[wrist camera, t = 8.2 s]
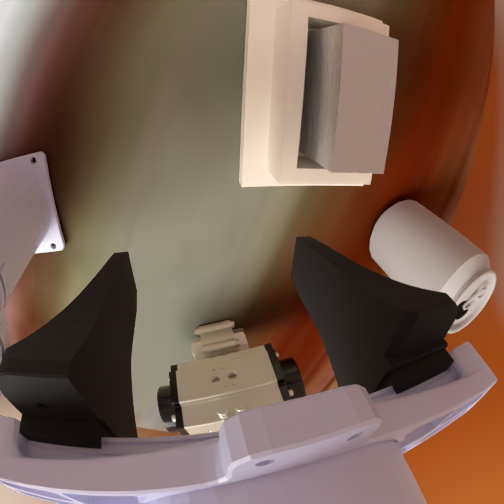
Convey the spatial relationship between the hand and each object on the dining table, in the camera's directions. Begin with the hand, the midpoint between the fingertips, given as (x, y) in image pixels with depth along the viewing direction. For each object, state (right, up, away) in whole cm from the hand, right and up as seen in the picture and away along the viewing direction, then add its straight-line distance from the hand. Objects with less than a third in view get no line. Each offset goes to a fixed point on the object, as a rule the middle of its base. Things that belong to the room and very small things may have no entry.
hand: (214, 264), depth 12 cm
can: (+16, +3, +15) cm, 22 cm away
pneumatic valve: (-2, -7, +16) cm, 18 cm away
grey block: (+6, +11, +5) cm, 14 cm away
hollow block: (+6, +12, +6) cm, 15 cm away
